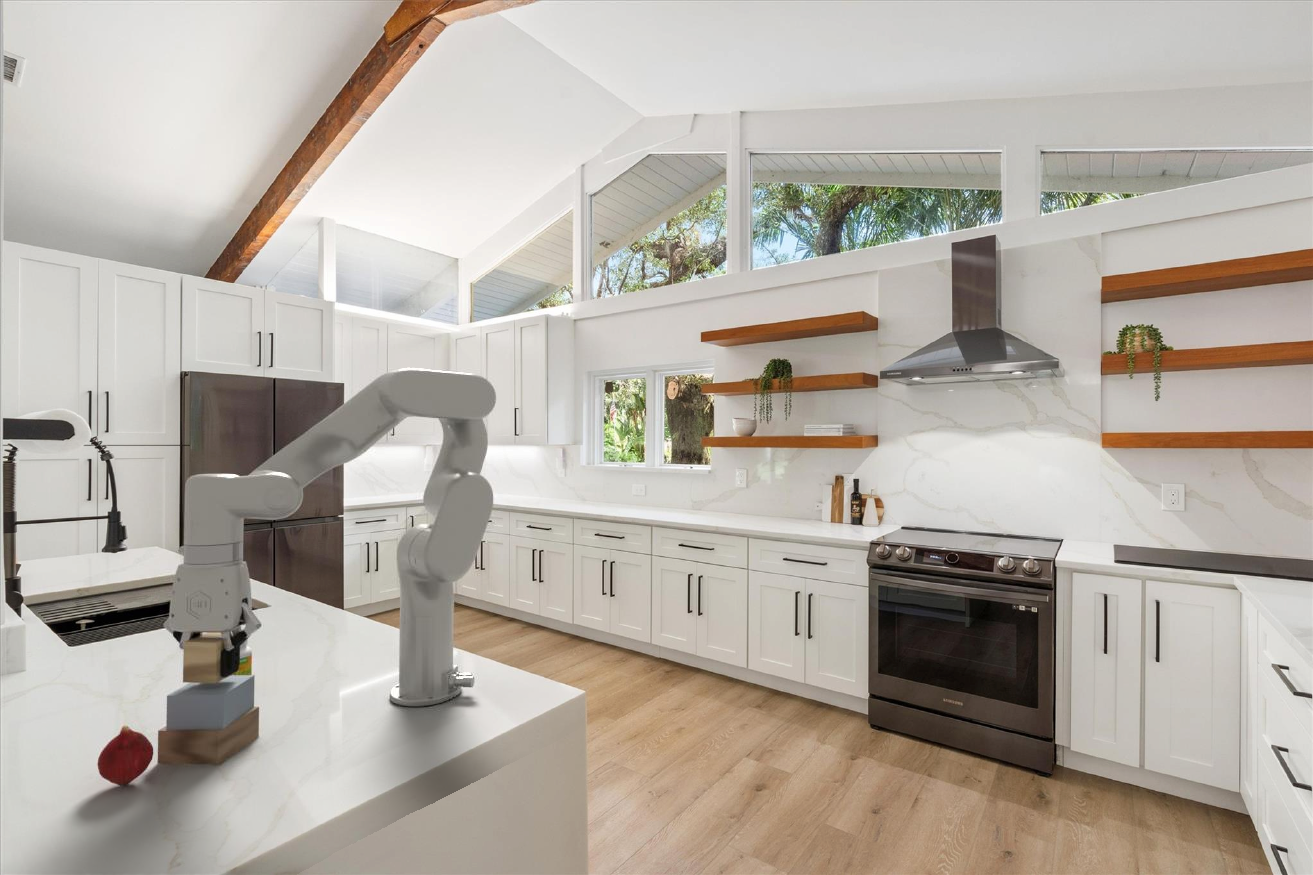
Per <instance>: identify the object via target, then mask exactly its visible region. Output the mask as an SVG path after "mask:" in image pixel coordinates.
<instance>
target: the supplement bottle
mask: <svg viewBox="0 0 1313 875" xmlns="http://www.w3.org/2000/svg"><path fill="white" fill-rule="evenodd" d="M248 642H249V638H248V639H247V640H246V641H245V642H244V644H243V645H241V646H240V665H239V672H237V673H235V674H233V675H253V674H252V672H253V671H252V670H253V668H252V663H253V662H252V660H253V650H252V648H251V647H249V646H247V645H248Z"/></svg>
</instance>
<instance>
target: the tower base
mask: <svg viewBox="0 0 1313 875" xmlns="http://www.w3.org/2000/svg"><path fill="white" fill-rule="evenodd" d="M259 734H260V707H259V706H254V707H253V708H252V709H250V710H249V711H247V712H246V713H245V714H243V715H242V716H241V717H239V718H238V719H236V720H235V721H234V722H232V723H231V724H230V725H228V726H227V727H225V728H224V729H195V730H166V726H164V727H162V728H161V729H159V730H157V764H158V763H162V764H163V763H164V764H163V765H187V766H188V765H190V766H191V765H193V766H194V765H195V766H219V765H220V764H222V763H223V762H225V761H226V760H227V759H229V758H230V757H232V756H234V755H235V754H237V753H238V752H239V751H240V750H242V749H244V748H245V747H246V746H248V745H249V744H251V743H252V742H254V741H256V740H257V739H258V738H259V737H260V735H259ZM162 764H161V765H162Z"/></svg>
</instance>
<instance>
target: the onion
mask: <svg viewBox="0 0 1313 875" xmlns="http://www.w3.org/2000/svg"><path fill="white" fill-rule="evenodd" d="M153 758H154V746H153V744H152V742H151V741H150V740H149V739H148V737H146V736H145V735H144V734H143V733H141V732H139V731H134V730H132V728H130V727H129V726H128V725H122V727H121V730H120V731H119V734H117V735H116V736H115V737H114V738H112V739H111V740H110V741H109V742H108V743H107V744H106V746H104V748H103V749H102V751H101V752H100V754H99V756H98V760H97V769H98V773H99V775H100V776H101V778H103V779H104V780H106V781H109V782H110V783H112V784H115V785H118V786H120V787H125V786H128V785H129V784H131V783H132V782H133V781H135V780H136V779H137V778H139V777H140V776H141V775H143V773H144V772H145V771H146V770H148V767H149V766H150V764H151V762H152V760H153Z"/></svg>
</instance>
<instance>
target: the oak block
mask: <svg viewBox="0 0 1313 875" xmlns="http://www.w3.org/2000/svg"><path fill="white" fill-rule="evenodd" d="M231 634H232V632H231ZM232 637H233V634H232ZM223 650H225V647H224V644H223V640H222V636H221V633H207V632H205V633H203V634H202V635H200V636H198V637H195V638H193V639H190V640H188V641H185V642H184V649H183V658H182V660H183V661H182V662H183V663H182V664H183V666H182V668H183V669H182V683H187V684H189V683H217V682H219V681H221V680H223V679H225V678H227V677H229V676H231V675H233V674H235V673H237V672H239V669H238V671H237V672H235V673H233V674H231V675H229V676H227V677H221V651H223Z"/></svg>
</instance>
